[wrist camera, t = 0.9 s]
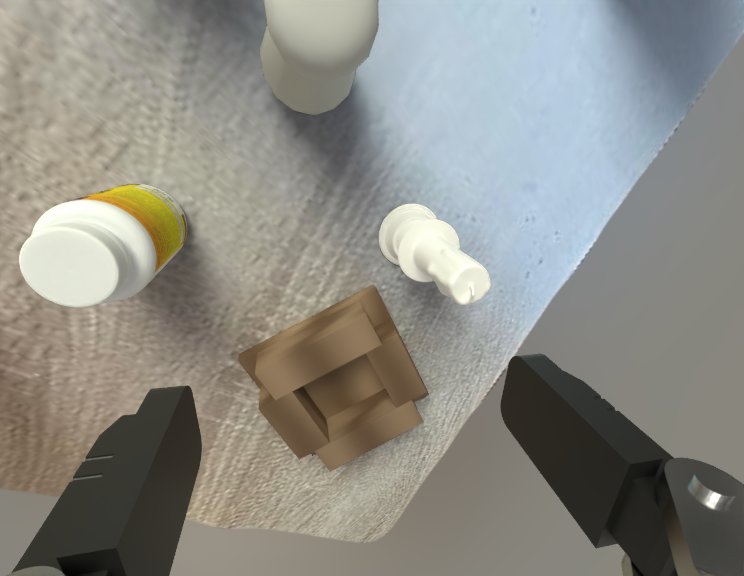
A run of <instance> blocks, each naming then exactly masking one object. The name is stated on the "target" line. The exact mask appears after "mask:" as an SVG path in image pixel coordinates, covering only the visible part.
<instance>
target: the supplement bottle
mask: <svg viewBox="0 0 744 576" xmlns="http://www.w3.org/2000/svg"><path fill="white" fill-rule="evenodd" d="M186 237H187V221H186V217H185V215H184V213H183V211H182V209H181V207H180V206H179V205H178V203H177V202H176V201H175V200H174V199H173V198H172V197H171V196H169V195H168V194H167V193H165V192H163V191H162V190H160V189H158V188H155V187H152V186H149V185H144V184H127V185H122V186H119V187H115V188H112V189H108V190H105V191H101V192H98V193H95V194H92V195H88V196H85V197H82V198H78V199H75V200H70V201H67V202H65V203H62V204H59V205H57V206H55V207H53V208H51V209H50V210H48V211H47V212H46V213H44V214H43V215H42V216H41V217H40V219H39V220H38V221H37V223H36V225H35V226H34V229H33V232H32V235H31V237H30V238H28V239H27V240H26V242H25V243H24V245H23V246H22V249H21V252H20V255H19V264H20V269H21V272H22V274H23V276H24V278H25V280H26V281H27V283H28V284H29V285H30V286H31V287H32V288H33V289H34V290H35V291H36V292H37V293H38V294H39V295H41V296H42V297H44V298H46V299H47V300H49V301H52V302H54V303H56V304H60V305H63V306H68V307H89V306H93V305H97V304H99V303H110V302H117V301H121V300H124V299H127V298H130V297H132V296H134V295H135V294H137V293H138V292H140V291H141V290H142V289H143V288H145V287H146V286H147V285H148V284H149V283H150V282H151V281H152V279H153V278H154V277H155V276H156V275H157V274H158V273H159V272H160V271H161V270H162V269H163V268H164V267H165V266H166V265H167V263H168V262H169V261H170V260H171V259H172V258H173V257H174V256H175V255H176V254H177V253H178V251H179V250H180V249H181V248H182V246H183V245H184V242H185V240H186Z"/></svg>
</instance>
